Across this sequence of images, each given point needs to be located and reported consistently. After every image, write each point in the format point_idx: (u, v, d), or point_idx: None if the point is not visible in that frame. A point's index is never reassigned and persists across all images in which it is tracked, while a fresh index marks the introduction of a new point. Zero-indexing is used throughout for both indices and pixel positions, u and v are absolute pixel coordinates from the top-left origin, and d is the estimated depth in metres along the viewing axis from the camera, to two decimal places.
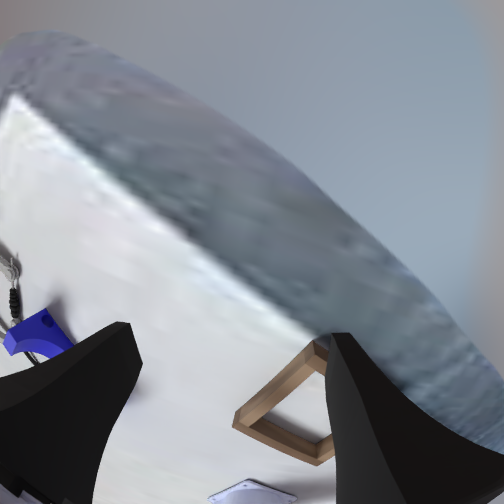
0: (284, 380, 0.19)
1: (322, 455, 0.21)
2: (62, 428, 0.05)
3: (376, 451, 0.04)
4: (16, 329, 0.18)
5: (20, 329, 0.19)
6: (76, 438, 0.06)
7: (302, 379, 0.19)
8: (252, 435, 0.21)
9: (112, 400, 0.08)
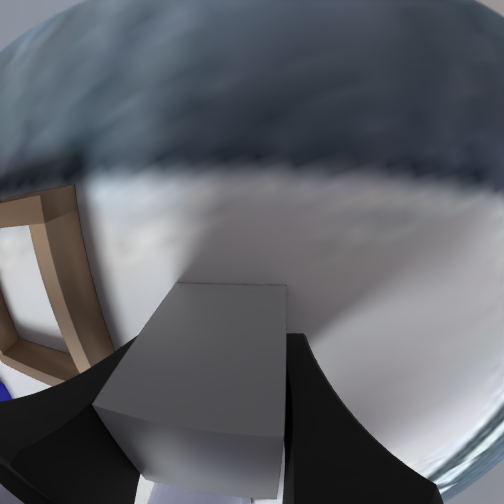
0: None
1: None
2: (106, 446, 0.05)
3: (292, 458, 0.04)
4: None
5: None
6: (117, 454, 0.06)
7: None
8: (14, 366, 0.12)
9: None
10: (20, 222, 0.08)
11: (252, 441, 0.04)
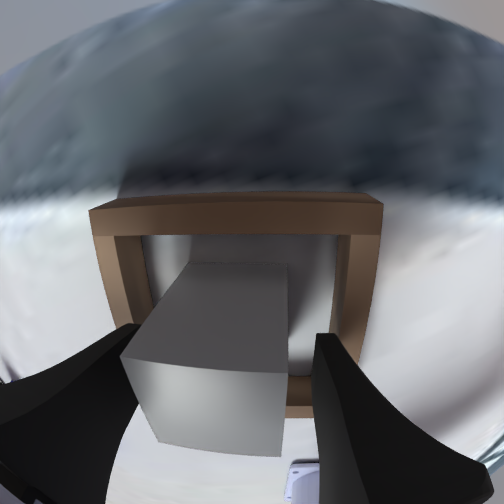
0: (108, 286, 0.10)
1: None
2: (75, 434, 0.05)
3: (349, 454, 0.04)
4: None
5: None
6: (88, 443, 0.06)
7: (115, 266, 0.10)
8: None
9: (124, 403, 0.08)
10: (333, 230, 0.08)
11: (261, 379, 0.06)
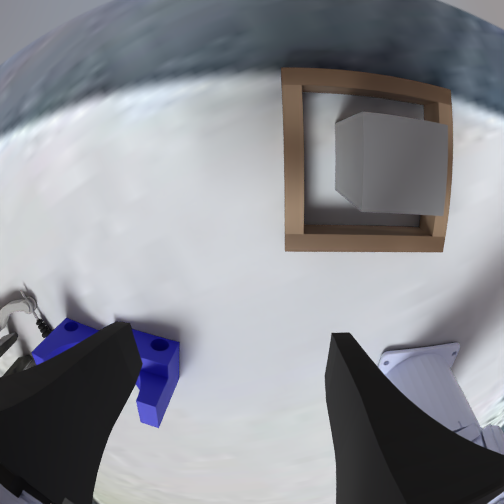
0: (283, 125, 0.14)
1: (434, 224, 0.14)
2: (62, 428, 0.05)
3: (376, 451, 0.04)
4: (40, 348, 0.18)
5: (44, 346, 0.18)
6: (76, 438, 0.06)
7: (299, 106, 0.13)
8: (320, 246, 0.15)
9: (112, 400, 0.08)
10: (430, 98, 0.12)
11: (437, 128, 0.09)
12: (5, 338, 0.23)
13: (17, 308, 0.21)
